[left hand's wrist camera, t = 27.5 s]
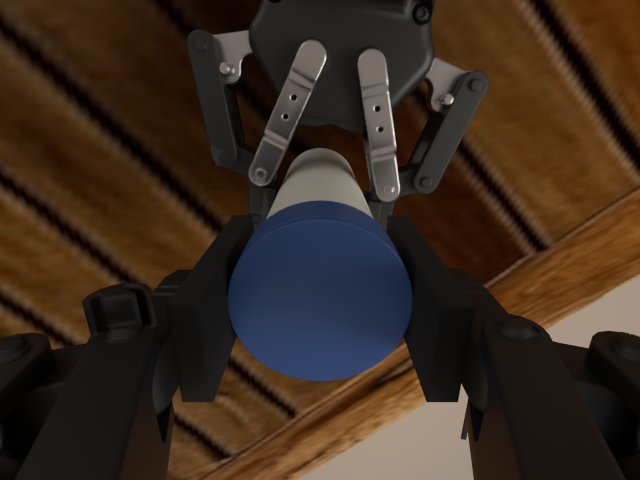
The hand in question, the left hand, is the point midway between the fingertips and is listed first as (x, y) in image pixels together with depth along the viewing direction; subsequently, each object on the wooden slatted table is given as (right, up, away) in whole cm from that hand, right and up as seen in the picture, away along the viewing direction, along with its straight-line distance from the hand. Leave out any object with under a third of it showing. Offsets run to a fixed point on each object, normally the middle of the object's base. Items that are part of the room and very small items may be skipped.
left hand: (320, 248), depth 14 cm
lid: (0, -1, -4) cm, 4 cm away
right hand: (0, 0, +6) cm, 6 cm away
